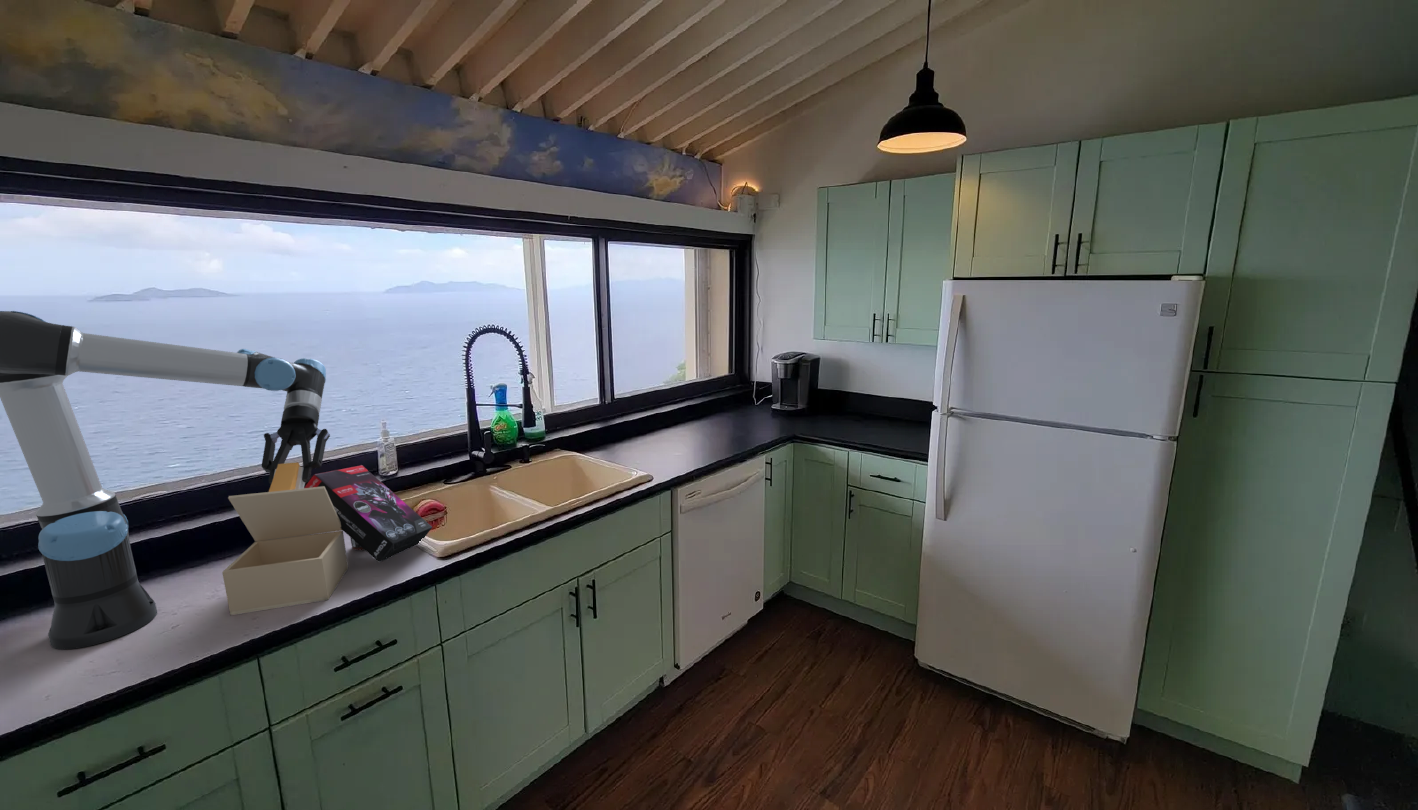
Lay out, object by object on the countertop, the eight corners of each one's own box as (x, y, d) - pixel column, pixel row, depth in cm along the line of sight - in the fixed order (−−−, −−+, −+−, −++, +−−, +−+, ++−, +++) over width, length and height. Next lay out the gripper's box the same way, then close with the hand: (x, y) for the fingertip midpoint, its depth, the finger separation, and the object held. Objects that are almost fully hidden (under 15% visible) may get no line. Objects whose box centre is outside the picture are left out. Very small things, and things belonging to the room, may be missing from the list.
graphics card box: (393, 544, 135) (313, 470, 137) (376, 565, 135) (297, 491, 137) (434, 528, 152) (363, 462, 154) (419, 546, 152) (348, 480, 154)
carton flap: (228, 498, 121) (241, 465, 128) (255, 541, 132) (266, 509, 138) (324, 488, 127) (331, 457, 134) (342, 530, 137) (349, 500, 144)
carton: (230, 615, 119) (222, 572, 117) (262, 580, 134) (255, 541, 132) (328, 599, 124) (321, 558, 123) (348, 568, 139) (342, 530, 137)
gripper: (344, 417, 147) (334, 497, 135) (267, 423, 142) (249, 506, 129) (336, 401, 141) (324, 483, 129) (255, 406, 136) (234, 492, 123)
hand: (286, 494), depth 129 cm, fingers closed on carton flap, 4 cm apart
